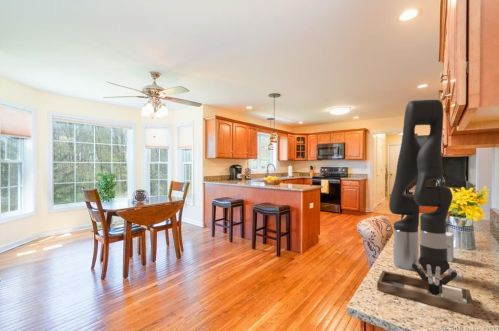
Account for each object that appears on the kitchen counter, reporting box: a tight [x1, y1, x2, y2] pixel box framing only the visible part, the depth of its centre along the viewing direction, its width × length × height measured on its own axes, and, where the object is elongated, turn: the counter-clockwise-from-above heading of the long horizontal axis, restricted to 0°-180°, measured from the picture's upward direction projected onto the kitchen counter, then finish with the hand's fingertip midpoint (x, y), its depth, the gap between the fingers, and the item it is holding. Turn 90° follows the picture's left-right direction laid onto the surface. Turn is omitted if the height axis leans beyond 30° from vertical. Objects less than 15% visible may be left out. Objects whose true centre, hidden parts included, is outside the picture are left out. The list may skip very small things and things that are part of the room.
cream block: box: [442, 284, 463, 302], centre depth 80 cm, size 5×5×4 cm
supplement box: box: [446, 231, 454, 263], centre depth 119 cm, size 7×7×13 cm
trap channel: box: [376, 270, 475, 317], centre depth 85 cm, size 26×12×4 cm, turn 52°
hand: (434, 294), depth 83 cm, fingers closed
